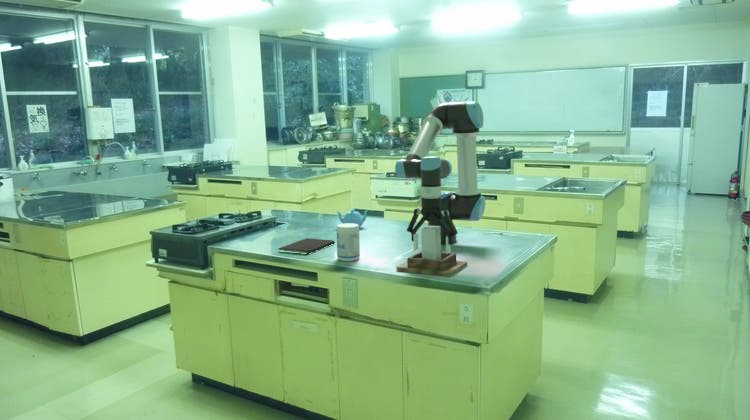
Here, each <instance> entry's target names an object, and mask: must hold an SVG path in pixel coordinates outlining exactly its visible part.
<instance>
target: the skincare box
mask: <svg viewBox="0 0 750 420" xmlns="http://www.w3.org/2000/svg"><path fill="white" fill-rule="evenodd" d="M420 230H421V231H420V232H421V234H420V235H421V238H420V239H421V251H422V259H429V260H438V261H441V252H442V244H441V235H440V226H428V225H426V226H424V227H423V228H421V229H420Z"/></svg>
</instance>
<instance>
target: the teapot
mask: <svg viewBox="0 0 750 420" xmlns="http://www.w3.org/2000/svg"><path fill="white" fill-rule="evenodd" d="M368 211H369V209H367V210H365V211H364V212H363V217H362V215H361V214H360V212H359V211H355V207H352V209H350V210H349V211H347V212H346V213H345V214H344V216H343V217H342V214H341V212H340V211H338V210H336V211H335V212H336V213H337V214H338V218H339V221H340V223H341V224H344V223H354V224H358V225H359V228H360V227H362V226H363V224H364V223H365V221H366V220H367V212H368Z"/></svg>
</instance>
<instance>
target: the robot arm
mask: <svg viewBox="0 0 750 420" xmlns="http://www.w3.org/2000/svg"><path fill="white" fill-rule="evenodd" d="M421 125H422V127H421V128H420V131H419V132H418V134H417V136H416V139H414V142H413V144H412V145H411V147H410V149H409V151H408V153H407V155H406V157H405V159H403V158H402V159H399V160H397V161H396V163H395V164H394V165H395V166H394V169H395V170H394V172H395V175H396V177H398V178H400V179H405V180H407V179H420V182H421V183H420V186H421V189H420V191H421V197H422V198H421V209H420V208H419V207H418V208H415V209H414V210H413V215H412V217H411V220H410V222H409V224H408V226H407V229H406V232H408V233H411V234H410V235H411V242H413V251H417V250H419V233H418V231H419V229H420V228H421V226H423V224H424V223H425V222H427V226H440V235H441V245H445V252H446V254H448V253H452V252H451V251H452V250H451V246H452V245H453V244H454V243H456V242H457V235H458V230H457V228H456V226H455V224H454V222H453V221H463V222H464V221H466V222H467V221H469V222H476V221H478V222H479V221H480V220H482V218H483V215H484V212H485V208H486V197H485V196H483V195H482V191H481V190H480V189H479V188H478V166H477V165H478V164H477V163H478V162H477V135H478V134H479V133H480V129H481V128H483V127H484V112H483V109H482V106H481V105H480V103H479V102H477V101H469V100H468V101H467V100H466V101H456V102H444V103H443V102H442V103H440V104H438V105H437V106H435V107H433V108H432V109H431V110H430V111H429V112H428V113H427V114H426V115H425V116H424V118H423V120H422V122H421ZM448 129H450V130H452V134H453V135H454V136H455V137H456V155H457V158H456V159H457V163H456V164H457V187H458V189H456V190H455V192H454V193H455V194H453V192H452V191H442V179H446V178H448V177H449V176H450V175H451V174H452V172H453V166H452V163H451V162H450V161H449V160H447V159H442V158H440V156H436V155H434V156H433V155H432V156H431V155H430V156H428V155H429V153H430V151H431V149H432V147H433V145H434V143H435V140H436V139H437V137H438V135H439V134H441V133H442V132H443V130H448ZM419 215H421V216H422V217H421V218H420V219H419V221H418V222H417V220H418V218H419ZM416 223H417V224H416ZM415 224H416V225H415Z"/></svg>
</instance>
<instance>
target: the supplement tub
mask: <svg viewBox="0 0 750 420" xmlns="http://www.w3.org/2000/svg"><path fill="white" fill-rule="evenodd" d="M360 247H361V246H360V227H359V225H358V224H354V223H344V224H343V223H339V224H337V225H336V256H337V260H338V259H339V260H338V261H340V260H341V262H355V261H358V260H359V259H360V254H361V253H360V249H361V248H360ZM354 260H355V261H354Z"/></svg>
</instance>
